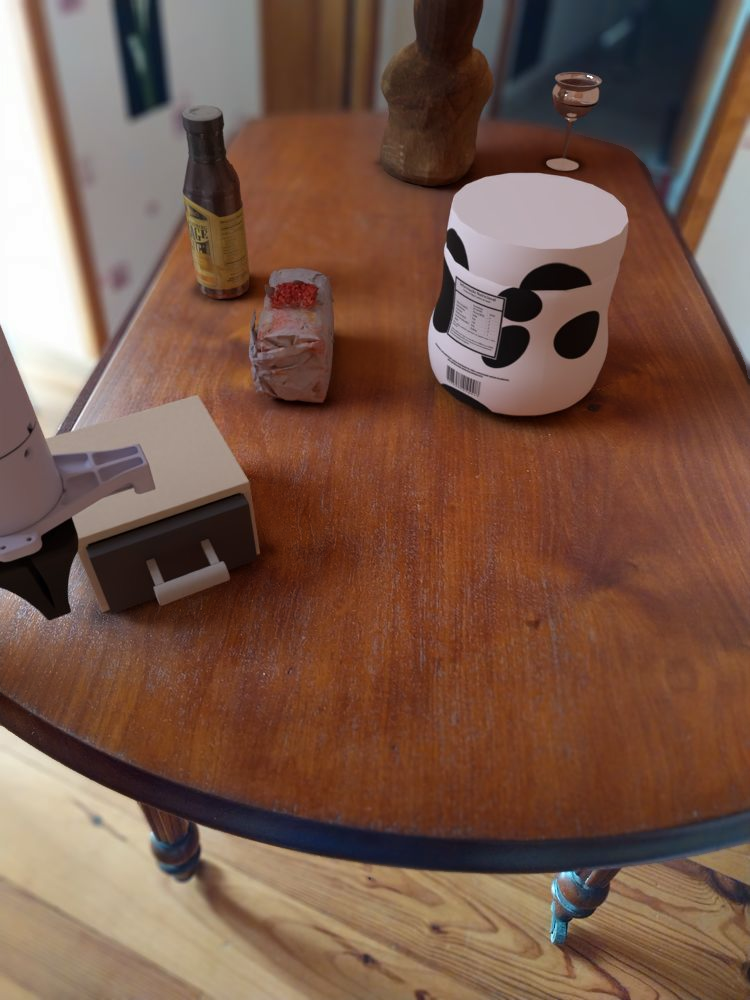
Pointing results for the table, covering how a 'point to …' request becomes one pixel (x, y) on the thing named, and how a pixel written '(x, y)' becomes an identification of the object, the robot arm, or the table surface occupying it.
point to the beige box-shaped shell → (156, 471)
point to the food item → (294, 337)
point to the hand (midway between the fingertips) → (56, 604)
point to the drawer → (175, 554)
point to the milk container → (526, 292)
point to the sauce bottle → (214, 207)
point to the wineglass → (573, 106)
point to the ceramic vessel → (436, 95)
